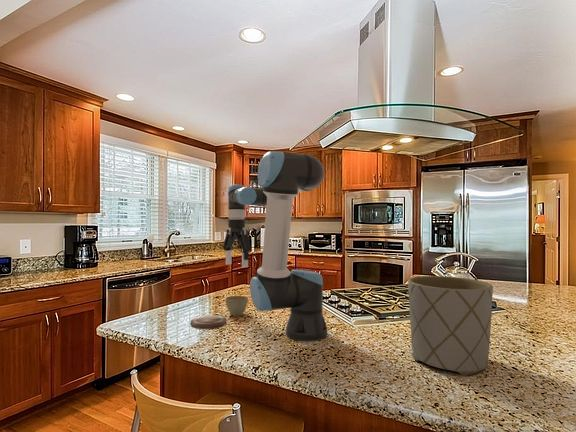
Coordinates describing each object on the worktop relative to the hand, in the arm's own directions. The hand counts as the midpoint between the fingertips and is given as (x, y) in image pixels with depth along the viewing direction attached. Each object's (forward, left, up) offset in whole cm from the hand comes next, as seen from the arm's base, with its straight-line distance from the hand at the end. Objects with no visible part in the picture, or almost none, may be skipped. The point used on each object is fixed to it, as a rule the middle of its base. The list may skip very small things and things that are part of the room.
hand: (236, 266), depth 157 cm
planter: (-78, -43, -21) cm, 92 cm away
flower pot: (-4, +1, -21) cm, 21 cm away
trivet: (-12, +15, -21) cm, 28 cm away
